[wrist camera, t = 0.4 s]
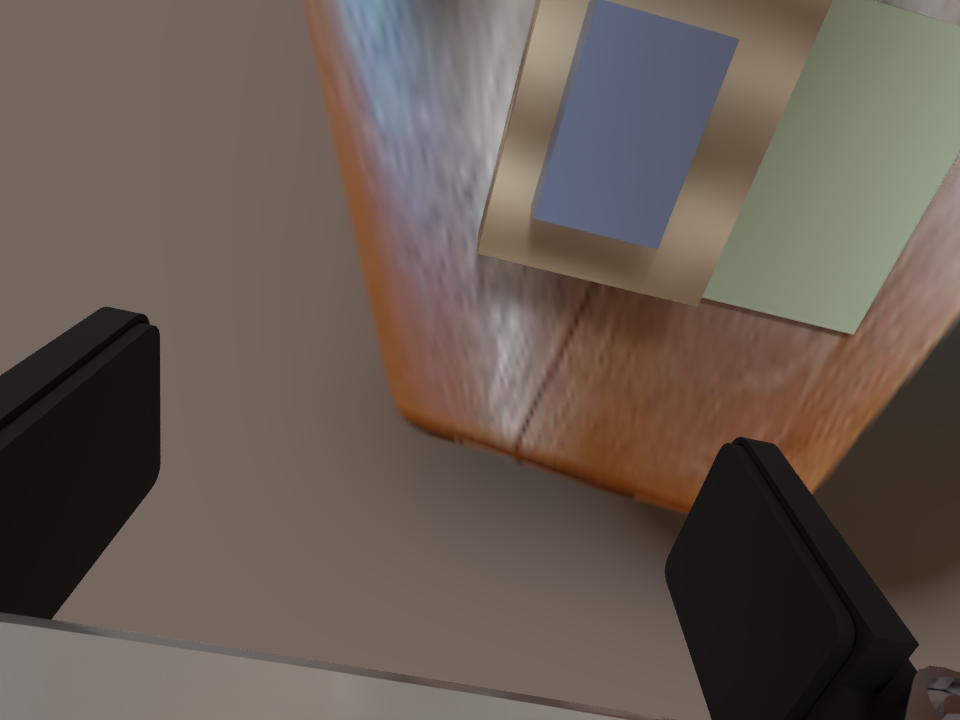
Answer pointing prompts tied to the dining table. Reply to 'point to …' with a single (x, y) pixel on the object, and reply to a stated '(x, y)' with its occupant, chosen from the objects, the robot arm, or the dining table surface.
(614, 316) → the dining table surface
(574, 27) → the plate
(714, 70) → the blue rectangular block
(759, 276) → the mat
